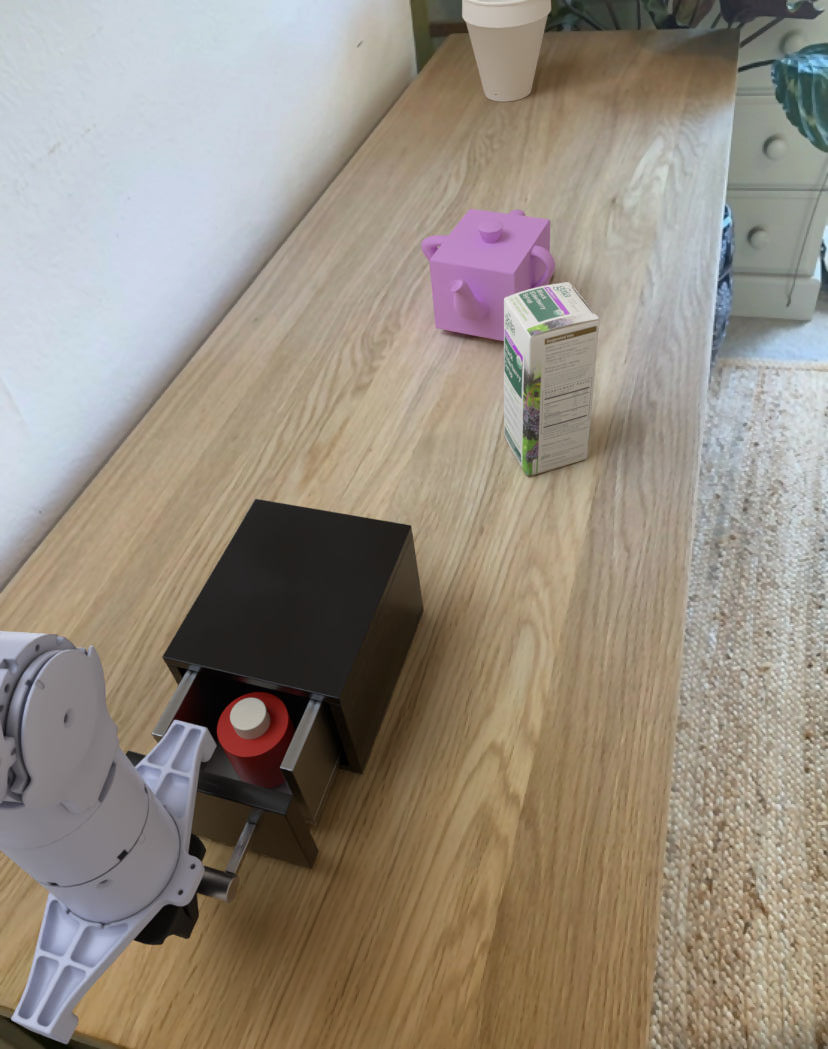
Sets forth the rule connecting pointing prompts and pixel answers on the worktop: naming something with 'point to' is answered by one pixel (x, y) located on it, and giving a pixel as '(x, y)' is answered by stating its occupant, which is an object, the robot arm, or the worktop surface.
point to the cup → (506, 43)
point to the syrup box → (548, 376)
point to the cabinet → (310, 614)
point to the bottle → (256, 737)
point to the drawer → (248, 809)
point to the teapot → (486, 268)
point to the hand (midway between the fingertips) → (178, 921)
